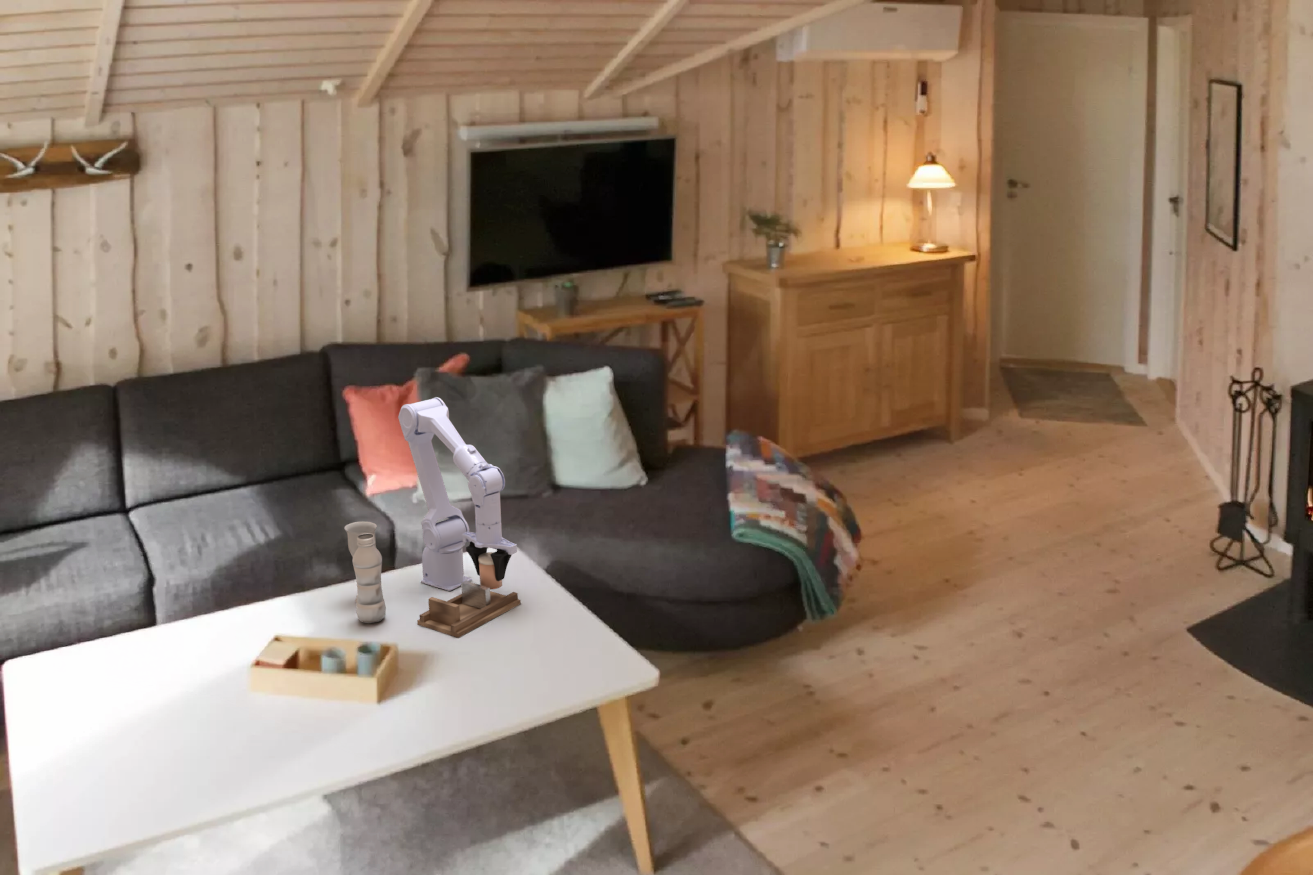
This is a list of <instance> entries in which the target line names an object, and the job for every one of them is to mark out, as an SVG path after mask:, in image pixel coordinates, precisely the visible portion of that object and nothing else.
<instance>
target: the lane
mask: <svg viewBox="0 0 1313 875" xmlns="http://www.w3.org/2000/svg"><path fill="white" fill-rule="evenodd" d="M427 600H428V610H426V611H424V612H422V613H420V614H419V619H417V621H416V622H417V625H418V626H421V627H424V628H427V629H429V630H433V631H437V632H440V633H441V634H445V635H448V636H452V637H454V638H458V639H459V638H461V637H463V636H464V635H466V634H468V633H469V632H471V631H474V630H475V629H477V628H479V627H480V626H483V625H484V624H487V623H488V622H490V621H491V620H494V619H495V618H497V617H499V616H501V615H503V614H504V613H506V612H508V611H510V610H512V609H515V608H516V607H518V606H520V605H521V604H522V603H521V599H519V597H518V592H516V591H513V592H510V593H509V594H506V595H505V594H503V593H498V592H495V591H492V590H490V602H491V604H490V605H488V606H486V607H484V608H482V609H480V608H477V607H473V606H470V605H467V604H464V603H462V593H460V594H458V595H456V596H455V597H453V598H450V599H449V600H444V599H440V598H438V597H434V596H431V597H429V598H428V599H427Z"/></svg>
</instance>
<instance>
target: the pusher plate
mask: <svg viewBox="0 0 1313 875" xmlns="http://www.w3.org/2000/svg"><path fill="white" fill-rule="evenodd" d="M460 588H461V594H462V603H464V604H467V605H470V606H473V607H477V608H480V609H482V608H484V607H486V606H488V605H490V604H491V602H490V591H491V590H490V588H489V587H486V586H483V585H480V583H476V582H472V581H464V582H462V583H461V586H460Z"/></svg>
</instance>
